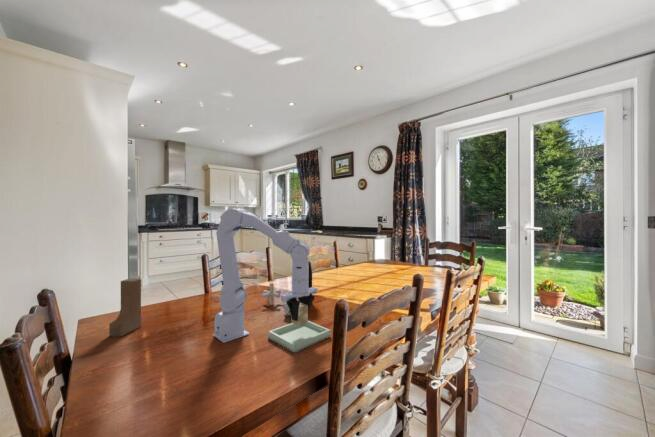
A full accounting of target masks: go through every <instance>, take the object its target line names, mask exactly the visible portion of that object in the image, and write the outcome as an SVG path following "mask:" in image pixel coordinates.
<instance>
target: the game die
mask: <svg viewBox="0 0 655 437" xmlns="http://www.w3.org/2000/svg"><path fill="white" fill-rule="evenodd" d="M296 299H297V301H299V299H298V298H296ZM280 306H281V307H282V308H283V311H284V313H285V315H284V317H287V316H291V312H290V309H289V307H288V305H287V303H286V302H283V304H281V305H280Z"/></svg>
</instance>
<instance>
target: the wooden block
mask: <svg viewBox="0 0 655 437" xmlns="http://www.w3.org/2000/svg"><path fill="white" fill-rule="evenodd" d="M119 310H120V311H119V313H118V316H117V317H116V319H114V320H113V321H111V322H110V323H109V324H108V325H109V327H108V328H109V332H108V333H109V334H108V335H109V337H115V338H117V337H118V338H122V337H124V336H126V335H127V334H129V333H131V332H133V331H135V330H137V329H139V328H141V327H142V279H141V278H134V277H133V278H131V277H130V278H127V279H124V280H120V308H119Z"/></svg>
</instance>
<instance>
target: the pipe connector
mask: <svg viewBox="0 0 655 437" xmlns="http://www.w3.org/2000/svg"><path fill="white" fill-rule="evenodd" d="M274 284H275V283H273V282H270V283H269V290H267V289H263V291H262V294H261V298H262V299H266V298H269V305H270V306H273V305H274V299H275V298H278V299H280V297H281V292H282V291H281V290H280V289H277V290H274V288H275V286H274Z"/></svg>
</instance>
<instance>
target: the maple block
mask: <svg viewBox="0 0 655 437" xmlns="http://www.w3.org/2000/svg"><path fill="white" fill-rule="evenodd" d="M308 317H309V313H308V305H306V304H303V303H300V305H299V309H298V320H297V321H295V320H292V316H291V315H290V324H291V323H293V324H296V325H298V326H299V325H302V324H305V323H308V321H309V318H308Z"/></svg>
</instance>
